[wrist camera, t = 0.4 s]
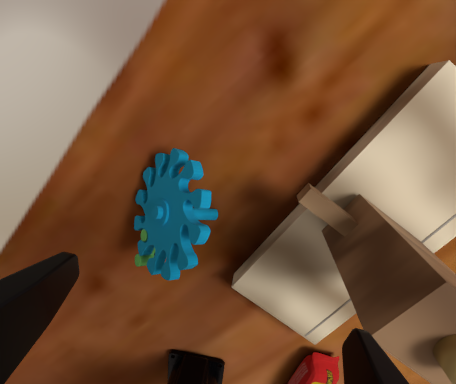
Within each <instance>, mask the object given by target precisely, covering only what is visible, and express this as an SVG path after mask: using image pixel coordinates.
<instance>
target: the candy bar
mask: <svg viewBox="0 0 456 384" xmlns="http://www.w3.org/2000/svg"><path fill="white" fill-rule="evenodd" d="M338 361H339V356H338V357H334V358H333V357H330V356H328V355H324V354H321V353H316V352H313V354H312V355H308V356H306V357H305V359H304V360H303V361H302V362H301V364H300V365H299V367H298V368H297V370H296V371H295V373H294V374H293V376H292V377H291V379H290V380H289V382H288V383H287V384H336V383H337V381H338V379H339V370H338Z"/></svg>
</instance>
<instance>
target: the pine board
mask: <svg viewBox="0 0 456 384" xmlns="http://www.w3.org/2000/svg"><path fill="white" fill-rule="evenodd" d="M315 188H316V189H317V190H318V191H320V192H321V193H322V194H324V195H325V196H326V197H328V198H329V199H330V200H331V201H333V202H334V203H335V204H337V205H338V206H339V207H341V208H342V209H344V208H345V207H346V206H347V205H348V204H349V203H350V202H351V201H352V200H353V199H354V198H355V197H356V196H357V195H358V194H361V195H362V196H363V197H364V198H366V199H367V200H368V201H370V202H371V203H372V204H373V205H375V206H376V207H377V208H379V209H380V210H381V211H382V212H384V213H385V214H386V215H388V216H389V217H390V218H391V219H393V220H394V221H395V222H396V223H398V224H399V225H400V226H402V227H403V228H404V229H405V230H407V231H408V232H409V233H411V234H412V235H413V236H414V237H416V238H417V239H418V240H419V241H421V242H422V243H423V244H424V245H425V246H426V247H427V248H428V249H429V250H430V251H431V252H432V253H435V252H436V251H437V250H439V249H440V248H441V247H443V246H444V245H445V244H447V243H448V242H449V241H450V240H452V239H453V238H454V237H456V66H455V65H454V64H453V63H452V62H450V61H449V60H448V61H443V62H438V63H433V64H430V65H429V66H428V67H427V68H426V69H425V70H424V71H423V72H422V73H421V74H420V76H419V77H418V78H417V79H416V80H415V81H414V82H413V83H412V84H411V85H410V86H409V87H408V88H407V89H406V90H405V92H404V93H403V94H402V95H401V96H400V97H399V98H398V99H397V100H396V101H395V102H394V103H393V104H392V105H391V106H390V108H389V109H388V110H387V111H386V112H385V113H384V114H383V115H382V116H381V117H380V118H379V119H378V120H377V121H376V123H375V124H374V125H373V126H372V127H371V128H370V129H369V130H368V131H367V132H366V133H365V134H364V135H363V136H362V137H361V139H360V140H359V141H358V142H357V143H356V144H355V145H354V146H353V147H352V148H351V149H350V150H349V151H348V152H347V153H346V155H345V156H344V157H343V158H342V159H341V160H340V161H339V162H338V163H337V164H336V165H335V166H334V167H333V168H332V169H331V171H330V172H329V173H328V174H327V175H326V176H325V177H324V178H323V179H322V180H321V181H320V182H319V183H318V184H317V185H316V187H315ZM327 225H328V224H327V223H326V222H325V221H323V220H322V219H321V218H319V217H318V216H317V215H315V214H314V213H313V212H311V211H310V210H309V209H307V208H306V207H305V206H303V205H302V204H301V203H300V204H299V205H298V206H297V207H296V208H295V209H294V210H293V211H292V212H291V213H290V214H289V215H288V216H287V218H286V219H285V220H284V221H283V222H282V223H281V224H280V225H279V226H278V227H277V228H276V229H275V230H274V231H273V232H272V234H271V235H270V236H269V237H268V238H267V239H266V240H265V241H264V242H263V243H262V244H261V245H260V246H259V247H258V248H257V250H256V251H255V252H254V253H253V254H252V255H251V256H250V257H249V258H248V259H247V260H246V261H245V262H244V263H243V264H242V266H241V267H240V268H239V269H238V270H237V271H236V272H235V273H234V275H233V281H232V288H233V289H235V290H236V291H237V292H239V293H240V294H242V295H243V296H245V297H246V298H248V299H249V300H251V301H252V302H253V303H255V304H256V305H258V306H259V307H261V308H262V309H264V310H265V311H267V312H268V313H269V314H271V315H272V316H274V317H275V318H277V319H278V320H280V321H281V322H283V323H284V324H285V325H287V326H288V327H290V328H291V329H293V330H294V331H296V332H297V333H299V334H300V335H301V336H303V337H304V338H306V339H307V340H309V341H310V342H312V343H313V344H317V343H318V342H319V341H321V340H322V339H323V338H324V337H326V336H327V335H328V334H330V333H331V332H332V331H334V330H335V329H336V328H337V327H339V326H340V325H341V324H343V323H344V322H345V321H347V320H348V319H349V318H350V317H352V316H353V315H354V314H356V310H355V308H354V306H353V303H352V301H351V299H350V296H349V294H348V292H347V289H346V287H345V285H344V282H343V280H342V278H341V275H340V273H339V271H338V268H337V266H336V264H335V261H334V259H333V257H332V254H331V252H330V250H329V247H328V245H327V243H326V240H325V238H324V236H323V233H322V230H323V229H324V228H325V227H326V226H327Z"/></svg>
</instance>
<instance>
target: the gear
mask: <svg viewBox="0 0 456 384" xmlns="http://www.w3.org/2000/svg"><path fill="white" fill-rule="evenodd" d="M188 158H189V156H188V154H187V153H186V152H185V151H183V150H180V149H175V148H173V149H172V151H171V153H170V155H169V154H164V153H158V154H156V157H155V164H156V168H152V167H148V168H147V169H146V170H145V171H144V173H143V179H144V181H145V183H146V186H147V190H139V191H138V193H137V196H136V199H135V200H136V203H137V204H139V205H141V206H142V208H143V210H144V213H145V216H135V221H134V229H135V230H142V231H141V240H139V242H138V251H139V254H136V256H135V265H136V266H145V265H147V268H148V270H149V272H150V273H151V275H155V274H161V276H162V277H163V278H164V279H166V280H175V279H179V277H180V270H185V269H191V268H194V267H195V266H196V265H198V258H197V255H196V254H195V252H194V250H193V248H192V245H191V243H192V244H194V245H198V244H205V243H206V241H207V239H208V237H209V235H210V232H211V231H210V228H209V226H208V225H205V224H202V223H201V222H199V221H198V220H216V219H217V218H218V211H217V210H216V209H209V208H210V205H211V191H210V190H204V189H196V190H195V191H193V192H192V193H191V192H190V191H189V190H188V183H189V181H190V180H191V179H194V180H200V179H201V178H202V177H203V169H202V166H201V163H200V162H198V161H193V160H188ZM184 165H185V166H184ZM183 166H184V168H183V170H182V172H181V173H180V174H179V170H180V168H181V167H183ZM178 174H179V175H178ZM192 207H194V208H192ZM154 255H155V256H154ZM166 256H167V258H166ZM165 259H166V262H165Z"/></svg>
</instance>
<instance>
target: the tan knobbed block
mask: <svg viewBox="0 0 456 384" xmlns="http://www.w3.org/2000/svg"><path fill="white" fill-rule="evenodd" d="M297 199H298V202H299V203H301V204H302V205H303V206H305V207H306V208H307V209H309V210H310V211H311V212H313V213H314V214H315V215H317V216H318V217H319V218H321V219H322V220H323V221H325V222H326V223H327V224H328V225H327V226H326V227H325V228H324V229H323V230H322V233H323V236H324V238H325V240H326V243H327V245H328V247H329V250H330V252H331V254H332V257H333V259H334V261H335V264H336V266H337V268H338V271H339V273H340V275H341V278H342V280H343V282H344V285H345V287H346V289H347V292H348V294H349V296H350V299H351V301H352V303H353V306H354V308H355V310H356V313H357V315H358V317H359V320H360V322H361V324H362V327H363V329H364V330H365V331H368V332H369V333H370V334H371V335H372V336H373V338H374V339H375V340H376V341H377V343H378V344H379V345H380V347H381V348H382V349H383V350H385V351H386V352H387V353H389V354H390V355H392V356H393V357H395V358H396V359H397V360H399V361H400V362H402V363H403V364H404V365H406V366H407V367H409V368H410V369H411V370H413V371H414V372H416V373H417V374H418V375H420V376H421V377H423V378H424V379H426V380H427V381H428V382H430V383H431V384H456V274H455V273H454V272H453V271H452V270H451V269H450V268H449V267H448V266H447V265H445V264H444V263H443V262H442V261H441V260H440V259H439V258H438V257H437V256H436V255H435V254H434V253H432V252H431V251H430V250H429V249H428V248H427V247H426V246H425V245H424V244H423V243H422V242H421V241H419V240H418V239H417V238H416V237H414V236H413V235H412V234H411V233H409V232H408V231H407V230H405V229H404V228H403V227H402V226H400V225H399V224H398V223H396V222H395V221H394V220H393V219H391V218H390V217H389V216H388V215H386V214H385V213H384V212H382V211H381V210H380V209H379V208H377V207H376V206H375V205H373V204H372V203H371V202H370V201H368V200H367V199H366V198H364V197H363V196H362V195H361V194H358V195H357V196H356V197H355V198H354V199H353V200H352V201H351V202H350V203H349V204H348V205H347V206H346V207H345V208H344V209H342V208H341V207H339V206H338V205H337V204H335V203H334V202H333V201H331V200H330V199H329V198H328V197H326V196H325V195H324V194H322V193H321V192H320V191H318V190H317V189H316V188H314V187H313V186H312V185H311V184H309V183H308V184H307V185H306V186H305V187H304V188H303V189H302V190H301V191H300V192H299V193H298V195H297Z"/></svg>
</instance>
